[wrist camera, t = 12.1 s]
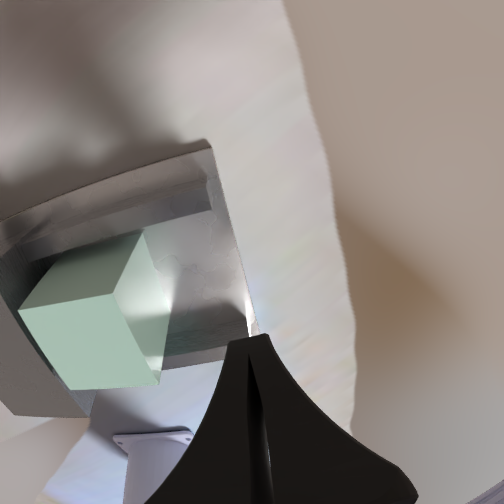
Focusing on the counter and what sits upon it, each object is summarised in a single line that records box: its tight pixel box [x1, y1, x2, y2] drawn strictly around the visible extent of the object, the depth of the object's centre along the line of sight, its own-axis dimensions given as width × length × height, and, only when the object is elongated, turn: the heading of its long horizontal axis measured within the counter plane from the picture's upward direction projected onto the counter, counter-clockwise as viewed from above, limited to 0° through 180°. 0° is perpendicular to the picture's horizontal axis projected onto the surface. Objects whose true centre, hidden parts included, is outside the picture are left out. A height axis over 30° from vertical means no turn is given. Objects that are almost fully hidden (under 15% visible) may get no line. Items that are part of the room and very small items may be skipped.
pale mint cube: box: [18, 233, 171, 390], centre depth 14 cm, size 5×5×6 cm
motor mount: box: [0, 147, 260, 418], centre depth 15 cm, size 13×18×6 cm
